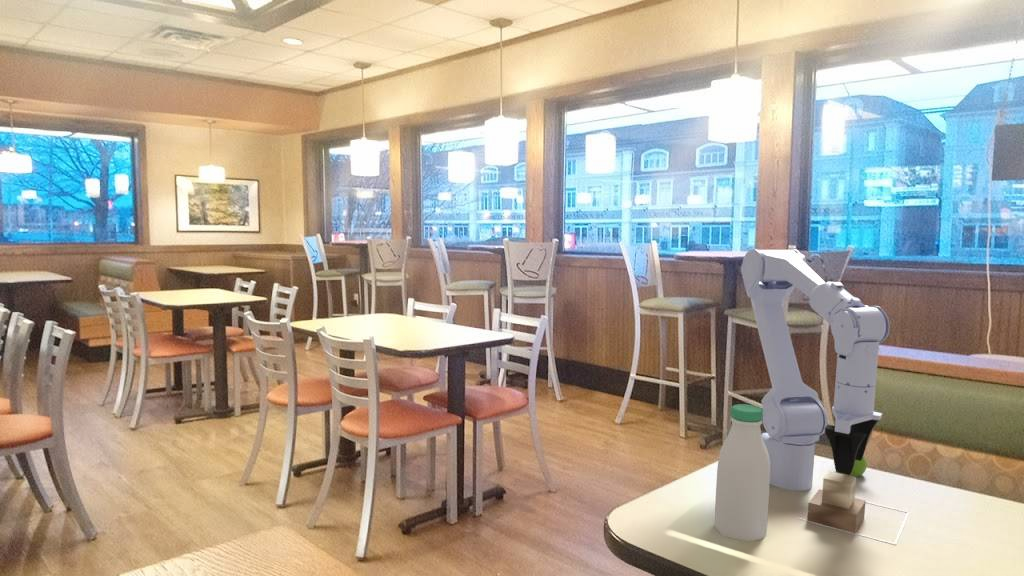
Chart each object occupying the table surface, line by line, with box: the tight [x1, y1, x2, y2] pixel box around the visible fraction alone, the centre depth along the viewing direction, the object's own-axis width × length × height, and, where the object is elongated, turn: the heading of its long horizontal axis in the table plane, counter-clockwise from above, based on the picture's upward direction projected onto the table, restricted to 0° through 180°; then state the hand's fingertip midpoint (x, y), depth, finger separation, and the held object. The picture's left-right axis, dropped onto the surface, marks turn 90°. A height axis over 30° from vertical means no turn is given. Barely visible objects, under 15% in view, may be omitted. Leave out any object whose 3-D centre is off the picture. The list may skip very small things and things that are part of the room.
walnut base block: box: [806, 489, 867, 534], centre depth 111 cm, size 7×7×3 cm
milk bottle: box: [714, 403, 771, 542], centre depth 106 cm, size 8×8×20 cm
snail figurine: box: [840, 425, 876, 478], centre depth 130 cm, size 5×6×12 cm
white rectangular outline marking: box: [796, 501, 911, 546], centre depth 113 cm, size 15×15×1 cm
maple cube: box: [822, 470, 857, 509], centre depth 110 cm, size 4×4×4 cm
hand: (849, 465), depth 111 cm, fingers open, 7 cm apart
